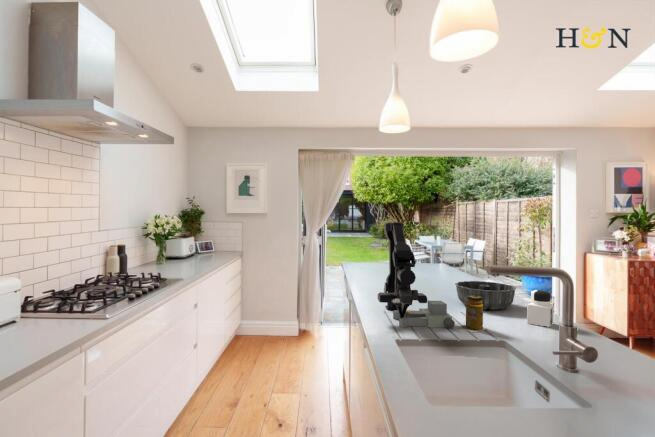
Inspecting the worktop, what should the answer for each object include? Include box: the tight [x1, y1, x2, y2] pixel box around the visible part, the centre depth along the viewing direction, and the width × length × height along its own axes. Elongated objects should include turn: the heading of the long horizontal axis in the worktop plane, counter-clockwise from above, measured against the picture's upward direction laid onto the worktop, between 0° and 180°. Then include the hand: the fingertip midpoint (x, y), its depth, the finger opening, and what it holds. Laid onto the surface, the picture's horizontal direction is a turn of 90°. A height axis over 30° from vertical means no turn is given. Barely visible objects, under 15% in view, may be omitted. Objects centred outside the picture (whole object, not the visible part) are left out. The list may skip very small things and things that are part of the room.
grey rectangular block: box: [404, 309, 425, 318], centre depth 138 cm, size 4×7×4 cm, turn 93°
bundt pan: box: [454, 280, 517, 311], centre depth 165 cm, size 26×26×10 cm
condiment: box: [457, 295, 489, 333], centre depth 131 cm, size 7×8×12 cm
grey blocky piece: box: [392, 300, 456, 329], centre depth 137 cm, size 15×20×8 cm
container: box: [526, 289, 555, 327], centre depth 138 cm, size 8×8×13 cm
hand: (401, 319), depth 137 cm, fingers closed
